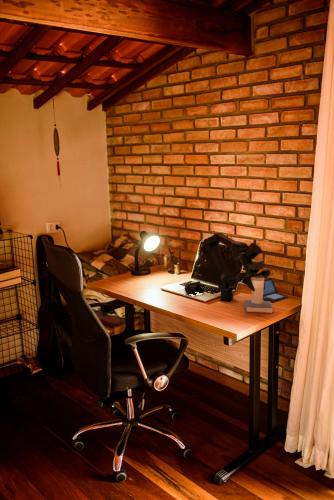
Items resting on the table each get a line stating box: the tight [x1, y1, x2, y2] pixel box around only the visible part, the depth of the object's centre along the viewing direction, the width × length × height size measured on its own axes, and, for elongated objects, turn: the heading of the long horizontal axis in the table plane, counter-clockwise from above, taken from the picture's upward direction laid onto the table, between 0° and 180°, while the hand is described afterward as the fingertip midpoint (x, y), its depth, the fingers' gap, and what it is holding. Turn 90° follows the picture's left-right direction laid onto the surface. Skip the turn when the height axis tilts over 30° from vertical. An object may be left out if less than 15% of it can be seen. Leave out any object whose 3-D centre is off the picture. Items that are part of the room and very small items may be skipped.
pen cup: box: [250, 276, 266, 304], centre depth 239 cm, size 6×6×13 cm
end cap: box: [184, 281, 206, 295], centre depth 273 cm, size 10×7×7 cm
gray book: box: [243, 299, 274, 314], centre depth 249 cm, size 14×10×3 cm
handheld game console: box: [263, 277, 289, 304], centre depth 268 cm, size 16×13×9 cm
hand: (259, 290), depth 237 cm, fingers closed on pen cup, 6 cm apart
